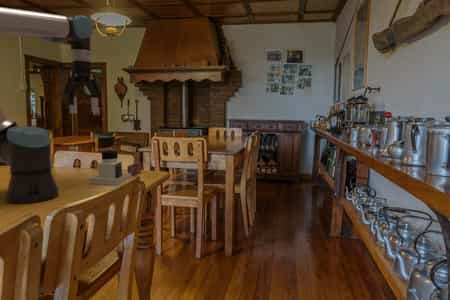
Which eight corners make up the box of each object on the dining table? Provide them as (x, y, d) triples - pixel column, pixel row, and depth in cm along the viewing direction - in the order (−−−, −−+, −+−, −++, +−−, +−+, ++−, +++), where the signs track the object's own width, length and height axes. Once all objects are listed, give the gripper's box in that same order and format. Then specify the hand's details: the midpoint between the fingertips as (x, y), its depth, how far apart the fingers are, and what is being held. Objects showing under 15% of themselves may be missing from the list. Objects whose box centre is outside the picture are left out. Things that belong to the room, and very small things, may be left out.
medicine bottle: (116, 181, 129) (114, 151, 128) (98, 181, 129) (96, 151, 128) (122, 177, 136) (121, 149, 135) (105, 177, 137) (104, 149, 135)
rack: (130, 177, 140) (130, 166, 140) (104, 176, 143) (103, 165, 142) (141, 172, 150) (140, 162, 149) (116, 171, 153) (116, 161, 152)
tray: (116, 185, 126) (116, 179, 126) (88, 183, 128) (88, 178, 128) (131, 178, 138) (131, 173, 137) (105, 177, 140) (105, 172, 140)
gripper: (67, 56, 122) (71, 113, 125) (107, 64, 146) (110, 112, 148) (51, 57, 124) (55, 113, 126) (93, 65, 148) (96, 112, 150)
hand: (84, 113), depth 137 cm, fingers open, 13 cm apart
